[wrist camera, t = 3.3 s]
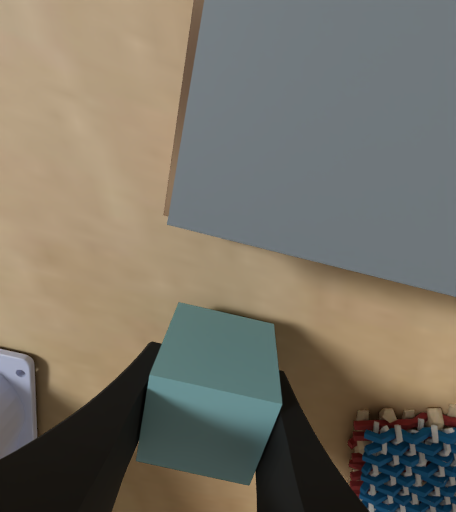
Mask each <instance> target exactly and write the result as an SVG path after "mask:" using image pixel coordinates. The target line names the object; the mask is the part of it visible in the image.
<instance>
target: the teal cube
mask: <svg viewBox="0 0 456 512" xmlns="http://www.w3.org/2000/svg"><path fill="white" fill-rule="evenodd" d="M281 406H282V396H281V387H280V377H279V368H278V358H277V349H276V339H275V330H274V324H272V323H267V322H263V321H259V320H254V319H250V318H246V317H241V316H237V315H232V314H228V313H224V312H219V311H215V310H211V309H206V308H202V307H197V306H193V305H189V304H184V303H180V302H179V303H178V305H177V308H176V310H175V313H174V315H173V318H172V320H171V323H170V325H169V328H168V330H167V333H166V335H165V338H164V340H163V342H162V345H161V347H160V350H159V352H158V355H157V357H156V360H155V362H154V365H153V367H152V370H151V372H150V375H149V381H148V387H147V393H146V400H145V406H144V412H143V419H142V425H141V431H140V438H139V444H138V450H137V457H136V461H138V462H143V463H147V464H152V465H156V466H161V467H166V468H170V469H175V470H179V471H184V472H189V473H193V474H198V475H203V476H207V477H212V478H216V479H221V480H226V481H230V482H235V483H239V484H244V485H250V483H251V480H252V478H253V475H254V473H255V470H256V468H257V465H258V463H259V461H260V458H261V456H262V453H263V451H264V448H265V446H266V443H267V441H268V438H269V436H270V433H271V431H272V429H273V426H274V424H275V421H276V419H277V416H278V414H279V411H280V409H281Z"/></svg>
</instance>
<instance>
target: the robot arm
mask: <svg viewBox="0 0 456 512" xmlns="http://www.w3.org/2000/svg"><path fill="white" fill-rule="evenodd" d="M161 345H162V344H161V343H156V342H150V343H149V344H148V345H147V346H146V347H145V349H144V350H143V351H142V352H141V353H140V354H139V356H138V357H137V358H136V359H135V360H134V361H133V362H132V363H131V364H130V365H129V366H128V367H127V368H126V369H125V370H124V371H123V372H122V373H121V374H120V375H119V376H118V377H117V378H116V379H115V380H114V381H113V382H112V383H110V384H109V385H108V386H107V387H106V388H105V389H104V390H103V391H101V392H100V393H99V394H98V395H97V396H96V397H94V398H93V399H92V400H91V401H89V402H88V403H87V404H86V405H84V406H83V407H82V408H80V409H79V410H78V411H76V412H75V413H74V414H72V415H71V416H69V417H68V418H67V419H65V420H64V421H62V422H61V423H59V424H58V425H57V426H55V427H54V428H52V429H50V430H49V431H47V432H46V433H44V434H43V435H41V436H39V437H38V438H37V416H36V391H35V366H34V361H33V359H32V358H31V357H30V356H28V355H26V354H22V353H17V352H13V351H8V350H4V349H0V512H112V509H113V506H114V503H115V500H116V497H117V494H118V491H119V488H120V485H121V482H122V480H123V477H124V474H125V472H126V469H127V467H128V464H129V462H130V460H131V458H132V455H133V453H134V451H135V448H136V446H137V444H138V441H139V438H140V431H141V425H142V419H143V412H144V406H145V400H146V393H147V387H148V381H149V375H150V372H151V370H152V367H153V365H154V362H155V360H156V357H157V355H158V352H159V350H160V347H161ZM279 377H280V387H281V396H282V406H281V409H280V411H279V414H278V416H277V419H276V421H275V424H274V426H273V429H272V431H271V433H270V436H269V438H268V441H267V443H266V446H265V448H264V451H263V453H262V456H261V458H260V461H259V463H258V465H257V468H256V470H255V471H256V490H257V512H370V511H369V510H368V509H367V508H366V506H365V505H364V504H363V503H362V501H361V500H360V499H359V498H358V496H357V495H356V494H355V492H354V491H353V490H352V489H351V487H350V486H349V485H348V483H347V482H346V481H345V479H344V478H343V477H342V475H341V474H340V472H339V471H338V469H337V468H336V467H335V465H334V464H333V462H332V461H331V459H330V458H329V456H328V454H327V453H326V451H325V450H324V448H323V446H322V445H321V443H320V441H319V440H318V438H317V436H316V435H315V433H314V431H313V429H312V428H311V426H310V424H309V422H308V420H307V418H306V416H305V414H304V413H303V411H302V409H301V407H300V405H299V403H298V401H297V399H296V397H295V394H294V392H293V390H292V388H291V386H290V384H289V381H288V379H287V377H286V375H285V373H284V371H280V370H279Z"/></svg>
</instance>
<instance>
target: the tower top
mask: <svg viewBox="0 0 456 512" xmlns="http://www.w3.org/2000/svg"><path fill="white" fill-rule="evenodd" d="M167 225H171V226H175V227H179V228H183V229H187V230H191V231H195V232H199V233H203V234H207V235H211V236H215V237H219V238H223V239H227V240H231V241H235V242H239V243H243V244H247V245H251V246H255V247H259V248H263V249H267V250H271V251H275V252H279V253H283V254H287V255H291V256H295V257H299V258H303V259H307V260H311V261H315V262H319V263H323V264H327V265H331V266H335V267H339V268H343V269H347V270H351V271H355V272H359V273H363V274H366V275H370V276H374V277H378V278H382V279H386V280H390V281H394V282H398V283H402V284H406V285H410V286H414V287H418V288H422V289H426V290H430V291H434V292H438V293H442V294H446V295H450V296H454V297H456V0H204V5H203V11H202V17H201V23H200V29H199V35H198V41H197V47H196V53H195V59H194V65H193V71H192V77H191V83H190V89H189V95H188V101H187V107H186V113H185V119H184V125H183V131H182V137H181V143H180V149H179V155H178V161H177V167H176V173H175V179H174V185H173V191H172V197H171V203H170V209H169V216H168V222H167Z"/></svg>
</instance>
